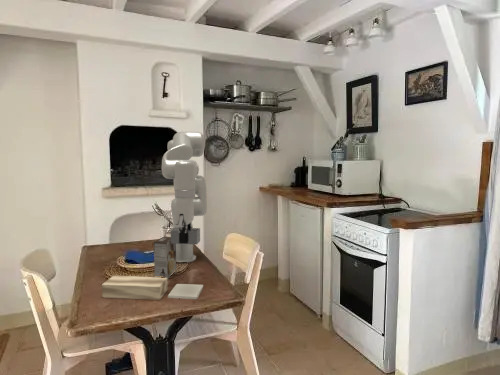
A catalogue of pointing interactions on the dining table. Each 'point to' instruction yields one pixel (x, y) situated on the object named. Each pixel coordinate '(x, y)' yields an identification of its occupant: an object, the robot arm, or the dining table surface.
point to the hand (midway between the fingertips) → (185, 240)
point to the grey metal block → (192, 236)
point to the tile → (186, 291)
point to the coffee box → (164, 257)
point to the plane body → (135, 287)
